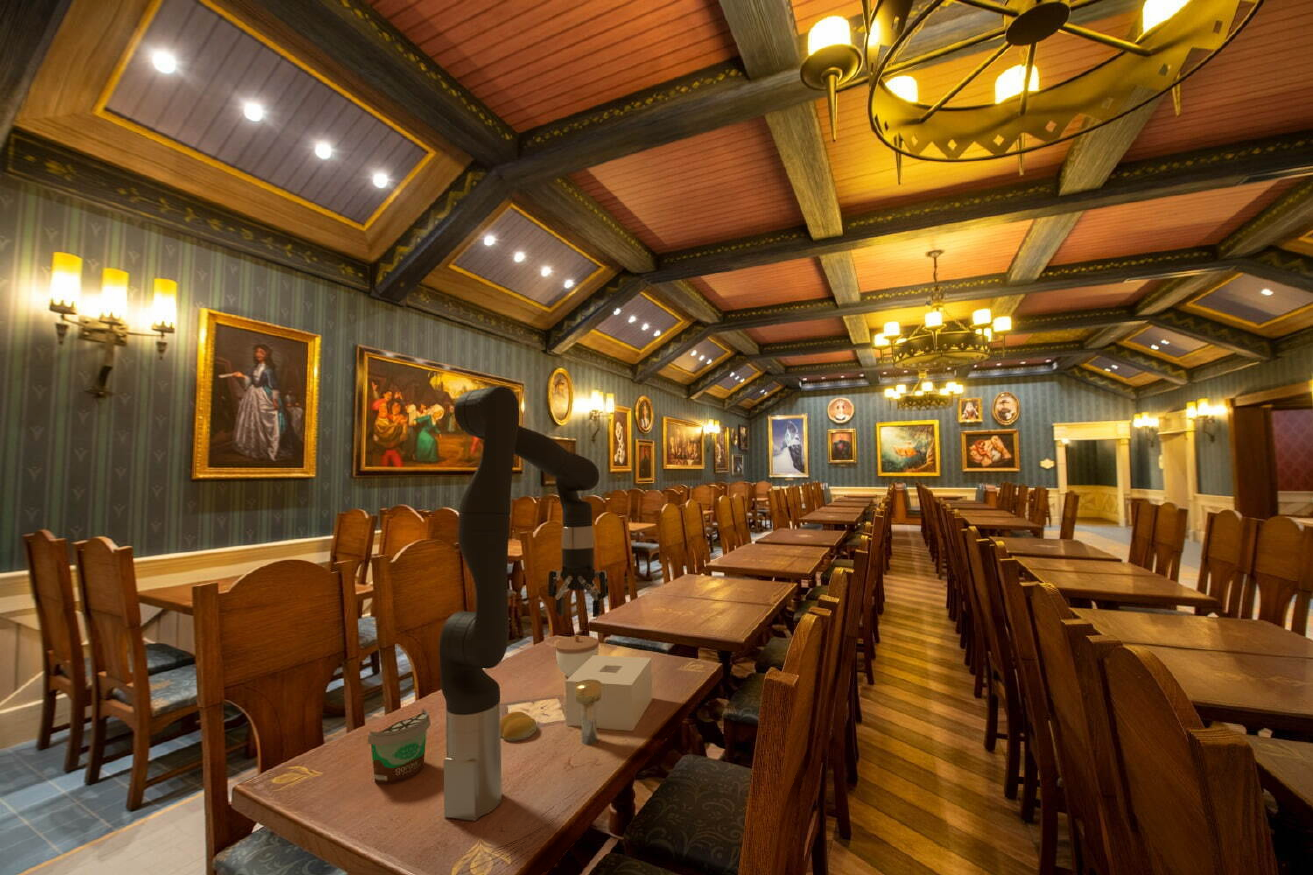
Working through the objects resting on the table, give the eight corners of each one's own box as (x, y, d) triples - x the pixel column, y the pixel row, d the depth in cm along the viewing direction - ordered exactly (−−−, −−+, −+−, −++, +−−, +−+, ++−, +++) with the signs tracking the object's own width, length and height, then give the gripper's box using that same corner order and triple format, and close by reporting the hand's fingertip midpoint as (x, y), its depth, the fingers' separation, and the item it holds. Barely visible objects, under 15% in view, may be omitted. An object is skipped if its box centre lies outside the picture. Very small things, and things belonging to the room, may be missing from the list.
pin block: (632, 730, 121) (631, 685, 122) (566, 725, 125) (565, 680, 126) (652, 697, 138) (651, 658, 139) (594, 693, 142) (593, 655, 143)
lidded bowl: (596, 681, 151) (595, 641, 152) (551, 683, 151) (551, 642, 152) (602, 665, 164) (600, 628, 164) (560, 666, 164) (559, 629, 164)
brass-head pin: (597, 748, 114) (595, 689, 115) (572, 746, 115) (571, 688, 116) (606, 735, 119) (604, 680, 120) (582, 733, 121) (580, 678, 121)
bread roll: (510, 746, 116) (509, 727, 117) (492, 732, 123) (492, 714, 123) (544, 733, 122) (543, 715, 122) (525, 720, 129) (525, 703, 129)
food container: (386, 795, 99) (385, 739, 100) (367, 786, 103) (367, 732, 103) (443, 763, 110) (443, 713, 111) (425, 756, 113) (424, 707, 114)
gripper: (543, 547, 126) (543, 618, 124) (601, 547, 122) (602, 620, 121) (556, 543, 133) (556, 611, 131) (611, 543, 130) (612, 613, 128)
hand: (578, 615), depth 126 cm, fingers open, 8 cm apart
